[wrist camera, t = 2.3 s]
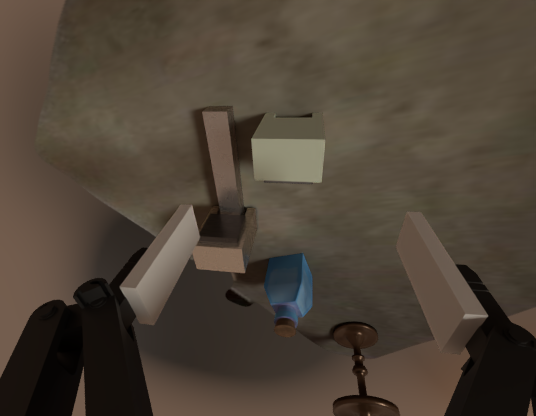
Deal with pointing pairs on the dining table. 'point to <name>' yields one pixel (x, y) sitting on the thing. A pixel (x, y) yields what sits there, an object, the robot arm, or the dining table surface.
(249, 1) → the dining table surface
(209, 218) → the grey l-shaped piece
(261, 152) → the block
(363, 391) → the candlestick
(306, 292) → the perfume bottle
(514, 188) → the dining table surface
